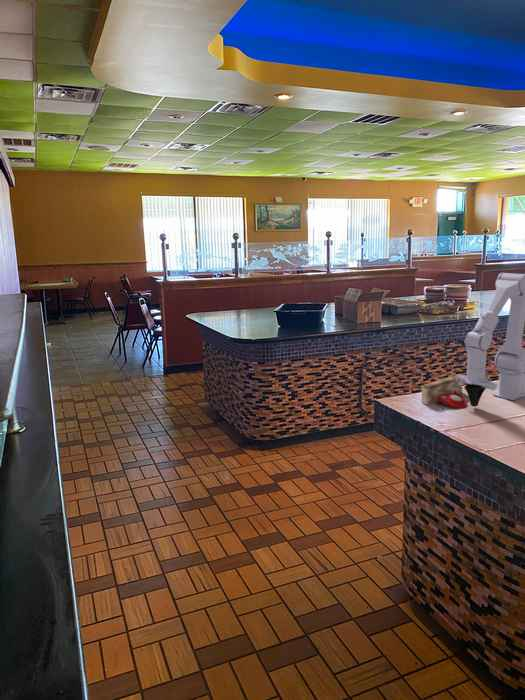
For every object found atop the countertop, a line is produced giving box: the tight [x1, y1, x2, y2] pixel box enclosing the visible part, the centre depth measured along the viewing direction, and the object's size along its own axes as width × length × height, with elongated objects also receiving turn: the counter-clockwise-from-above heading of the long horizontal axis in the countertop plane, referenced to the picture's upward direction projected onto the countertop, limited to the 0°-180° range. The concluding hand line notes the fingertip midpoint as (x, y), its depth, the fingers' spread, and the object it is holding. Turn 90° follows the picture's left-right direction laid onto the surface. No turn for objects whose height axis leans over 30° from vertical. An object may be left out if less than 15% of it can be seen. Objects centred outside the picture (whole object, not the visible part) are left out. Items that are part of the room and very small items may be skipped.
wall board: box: [421, 373, 466, 405], centre depth 191 cm, size 20×3×7 cm, turn 124°
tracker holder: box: [436, 389, 468, 409], centre depth 186 cm, size 12×4×10 cm
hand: (474, 405), depth 180 cm, fingers closed
